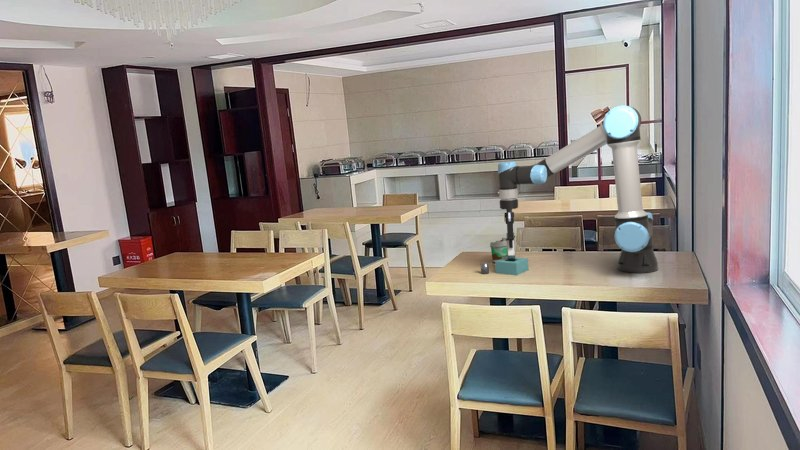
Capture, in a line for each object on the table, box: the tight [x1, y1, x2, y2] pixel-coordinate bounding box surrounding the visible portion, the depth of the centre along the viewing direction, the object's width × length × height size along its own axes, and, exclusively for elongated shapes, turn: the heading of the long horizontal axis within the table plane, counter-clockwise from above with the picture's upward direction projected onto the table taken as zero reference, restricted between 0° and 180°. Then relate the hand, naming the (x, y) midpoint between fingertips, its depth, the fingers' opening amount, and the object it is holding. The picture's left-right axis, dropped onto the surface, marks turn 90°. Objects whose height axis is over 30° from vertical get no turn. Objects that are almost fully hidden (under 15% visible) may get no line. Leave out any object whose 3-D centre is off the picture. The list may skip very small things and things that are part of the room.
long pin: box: [506, 232, 516, 262], centre depth 235 cm, size 3×3×15 cm
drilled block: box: [494, 256, 530, 276], centre depth 236 cm, size 10×10×5 cm
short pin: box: [480, 261, 490, 275], centre depth 237 cm, size 3×3×4 cm
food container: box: [489, 237, 508, 264], centre depth 255 cm, size 12×6×10 cm, turn 143°
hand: (511, 254), depth 235 cm, fingers closed on long pin, 3 cm apart
